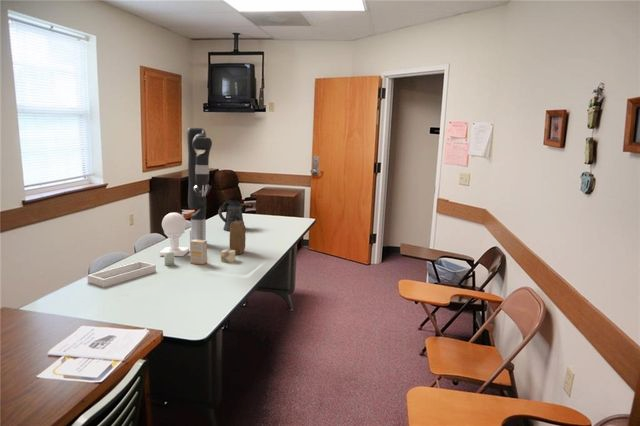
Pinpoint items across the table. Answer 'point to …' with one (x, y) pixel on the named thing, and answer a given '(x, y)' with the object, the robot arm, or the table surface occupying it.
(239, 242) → the block
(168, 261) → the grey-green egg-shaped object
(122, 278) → the tray
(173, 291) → the table surface
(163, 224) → the trophy
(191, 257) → the supplement box
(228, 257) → the light wooden cube
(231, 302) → the table surface
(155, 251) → the table surface
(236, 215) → the beer stein
